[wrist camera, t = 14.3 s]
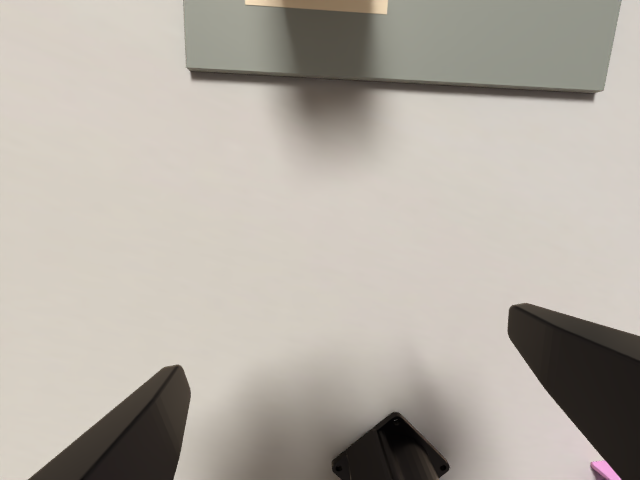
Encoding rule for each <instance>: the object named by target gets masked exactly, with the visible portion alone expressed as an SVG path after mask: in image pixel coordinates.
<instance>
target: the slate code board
mask: <svg viewBox="0 0 640 480" xmlns="http://www.w3.org/2000/svg"><path fill="white" fill-rule="evenodd" d="M621 1H622V0H183V9H184V31H185V53H186V68H187V69H189V70H190V71H200V72H218V73H237V74H255V75H273V76H291V77H309V78H327V79H346V80H364V81H382V82H400V83H418V84H436V85H455V86H473V87H491V88H509V89H527V90H546V91H564V92H582V93H597V92H600V91H604V86H605V81H606V76H607V71H608V66H609V61H610V56H611V51H612V46H613V41H614V36H615V31H616V26H617V21H618V16H619V11H620V6H621Z"/></svg>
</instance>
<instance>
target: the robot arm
mask: <svg viewBox="0 0 640 480" xmlns="http://www.w3.org/2000/svg"><path fill="white" fill-rule="evenodd" d="M508 335H509V338H510V340H511V341H512V343H513V344H514V346H515V347H516V348H517V350H518V351H519V353H520V354H521V356H522V357H523V358H524V360H525V361H526V363H527V364H528V366H529V367H530V368H531V370H532V371H533V373H534V374H535V376H536V377H537V378H538V380H539V381H540V383H541V384H542V385H543V387H544V388H545V389H546V391H547V392H548V393H549V394H550V396H551V397H552V398H553V399H554V400H555V402H556V403H557V404H558V405H559V406H560V408H561V409H562V410H563V411H564V412H565V413H566V415H567V416H568V417H569V418H570V419H571V421H572V422H573V423H574V424H575V425H576V427H577V428H578V429H579V430H580V431H581V432H582V434H583V435H584V436H585V437H586V438H587V440H588V441H589V442H590V443H591V444H592V445H593V447H594V448H595V449H596V450H597V451H598V453H599V454H600V455H601V456H602V457H603V459H604V460H605V461H606V462H607V463H608V464H609V466H610V467H611V468H612V469H613V470H614V472H615V473H616V474H617V475H618V476H619V477H620V479H621V480H640V336H637V335H634V334H630V333H627V332H624V331H620V330H617V329H613V328H610V327H607V326H603V325H600V324H596V323H593V322H590V321H586V320H583V319H579V318H576V317H573V316H569V315H566V314H562V313H559V312H556V311H552V310H549V309H545V308H542V307H539V306H535V305H532V304H528V303H522V304H517V305H512V306H511V307H510V309H509V317H508ZM190 398H191V391H190V387H189V384H188V381H187V378H186V375H185V373H184V370H183V368H182V366H180V365H173V366H167V367H164V368H162V369H161V370H160V371H159V372H158V373H156V374H155V375H154V376H153V377H151V378H150V379H149V380H148V381H147V382H145V383H144V384H143V385H142V386H141V387H139V388H138V389H137V390H136V391H135V392H133V393H132V394H131V395H130V396H129V397H127V398H126V399H125V400H124V401H122V402H121V403H120V404H119V405H118V406H116V407H115V408H114V409H113V410H112V411H110V412H109V413H108V414H107V415H106V416H104V417H103V418H102V419H101V420H100V421H98V422H97V423H96V424H95V425H93V426H92V427H91V428H90V429H89V430H87V431H86V432H85V433H84V434H83V435H81V436H80V437H79V438H78V439H77V440H75V441H74V442H73V443H72V444H71V445H69V446H68V447H67V448H66V449H64V450H63V451H62V452H61V453H60V454H58V455H57V456H56V457H55V458H54V459H52V460H51V461H50V462H49V463H48V464H46V465H45V466H44V467H43V468H42V469H40V470H39V471H38V472H37V473H35V474H34V475H33V476H32V477H31V478H29V479H28V480H173V479H174V475H175V472H176V468H177V464H178V461H179V456H180V452H181V447H182V441H183V436H184V431H185V425H186V420H187V414H188V409H189V404H190ZM396 419H398V420H397V421H394V420H396ZM449 468H450V467H449V464H448V462H447V460H446V459H445V458H444V457H443V456H442V455H441V454H440V453H439V452H438V451H437V450H436V449H435V448H434V447H433V446H432V445H431V444H430V443H429V442H428V441H427V440H426V439H425V438H424V437H423V436H422V435H421V434H420V433H419V432H418V431H417V430H416V429H415V428H414V427H413V426H412V425H411V424H410V423H409V422H408V421H407V420H406V419H405V418H404V417H403V416H402V415H401V414H400V413H398V412H394V413H392V414H390V415H389V416H388V417H386V418H385V419H384V420H383V421H381V422H380V423H379V424H378V425H376V426H375V427H374V428H373V429H371V430H370V431H369V432H368V433H366V434H365V435H364V436H363V437H361V438H360V439H359V440H358V441H356V442H355V443H354V444H353V445H351V446H350V447H349V448H348V449H346V450H345V451H344V452H343V453H341V454H340V455H339V456H338V457H336V458H335V459H334V460H333V461H332V471H333V472H334V473H335V474H336V475H337V476H338V477H339V478H340V479H342V480H439V478H440V477H441V476H442V475H444V474H445V473H446V472H447V471H448V470H449Z"/></svg>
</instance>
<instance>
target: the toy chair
mask: <svg viewBox="0 0 640 480" xmlns="http://www.w3.org/2000/svg"><path fill="white" fill-rule="evenodd" d="M591 467H592V468H593V469H595V470H596V471H597V472H598V473H599V474H601V475H602V476H603V477H604V478H605V479H607V480H621V479H620V477H619V476H618V475H617V474H616V473H615V472H614V470H613V469H612V468H611V467H610V466H609V464H608V463H607V462H606V461H596V462H591Z"/></svg>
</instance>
